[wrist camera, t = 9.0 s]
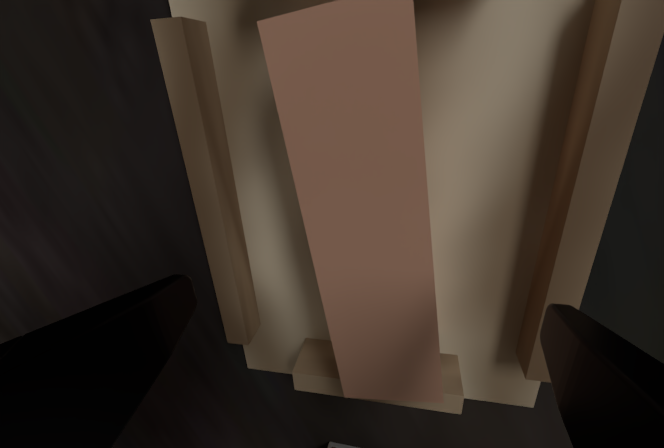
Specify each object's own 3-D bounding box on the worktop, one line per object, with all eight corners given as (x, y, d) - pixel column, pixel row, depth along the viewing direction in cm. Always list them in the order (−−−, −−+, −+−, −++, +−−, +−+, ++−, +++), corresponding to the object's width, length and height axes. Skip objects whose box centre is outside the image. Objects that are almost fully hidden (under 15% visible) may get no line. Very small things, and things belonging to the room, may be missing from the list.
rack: (670, -169, 9) (802, -289, 6) (526, 388, 19) (550, 454, 15) (169, -81, 13) (90, -130, 10) (255, 353, 22) (229, 402, 19)
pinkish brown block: (411, 6, 11) (411, -20, 8) (436, 331, 17) (443, 403, 13) (300, 33, 12) (257, 21, 9) (357, 331, 18) (344, 397, 14)
